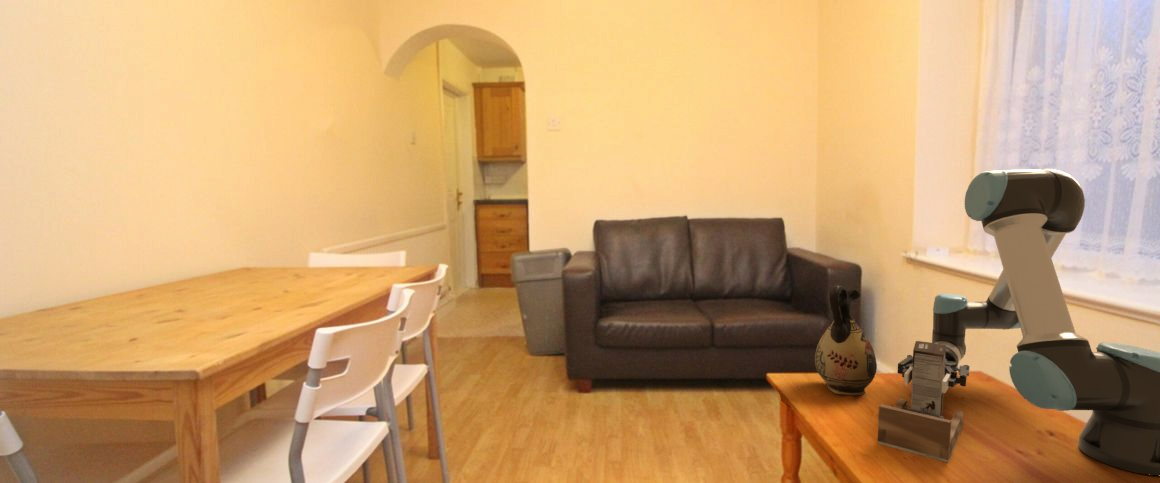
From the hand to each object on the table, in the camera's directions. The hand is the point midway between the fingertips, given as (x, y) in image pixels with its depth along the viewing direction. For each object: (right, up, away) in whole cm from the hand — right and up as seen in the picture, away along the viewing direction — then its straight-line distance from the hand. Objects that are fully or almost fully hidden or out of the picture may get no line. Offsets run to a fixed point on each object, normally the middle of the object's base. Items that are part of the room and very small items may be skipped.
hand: (924, 383), depth 124 cm
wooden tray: (-3, -11, -3) cm, 12 cm away
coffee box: (+4, -8, +5) cm, 10 cm away
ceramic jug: (-8, -8, +23) cm, 26 cm away
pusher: (-4, -10, -5) cm, 12 cm away
